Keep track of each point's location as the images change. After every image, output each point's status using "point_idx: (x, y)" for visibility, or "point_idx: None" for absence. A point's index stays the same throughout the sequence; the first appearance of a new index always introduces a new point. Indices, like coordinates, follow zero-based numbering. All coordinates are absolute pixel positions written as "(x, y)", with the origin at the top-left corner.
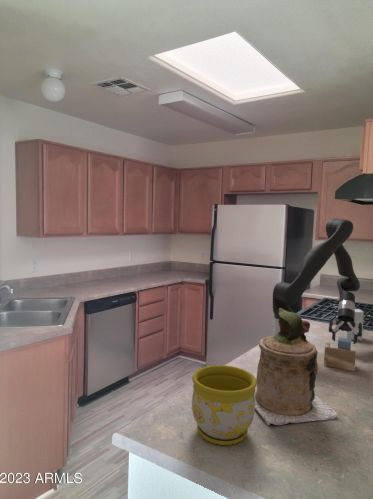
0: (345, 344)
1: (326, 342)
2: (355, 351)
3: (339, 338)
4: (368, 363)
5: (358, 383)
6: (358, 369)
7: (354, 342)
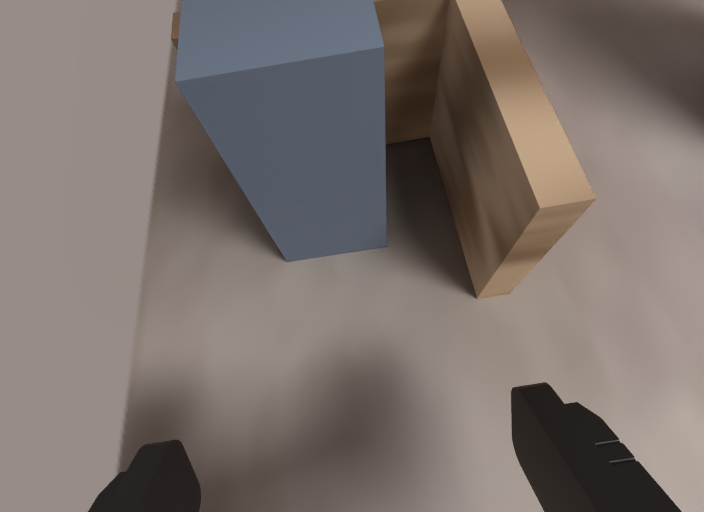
0: None
1: (539, 97)
2: (174, 28)
3: (359, 10)
4: (128, 386)
5: None
6: (218, 193)
7: (168, 445)
